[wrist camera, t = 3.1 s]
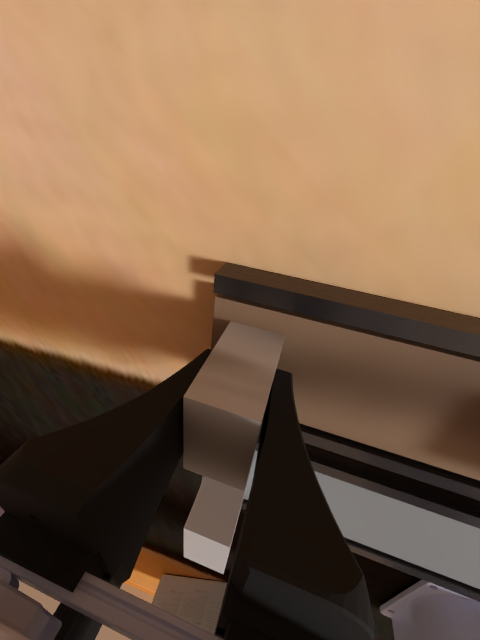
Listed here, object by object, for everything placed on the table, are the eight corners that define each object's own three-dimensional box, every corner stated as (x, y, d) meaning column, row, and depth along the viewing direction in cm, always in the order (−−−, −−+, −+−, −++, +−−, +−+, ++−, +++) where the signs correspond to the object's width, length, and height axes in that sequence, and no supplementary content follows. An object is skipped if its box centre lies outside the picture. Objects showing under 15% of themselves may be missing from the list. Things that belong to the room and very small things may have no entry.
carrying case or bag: (122, 488, 28) (-39, 743, 16) (149, 500, 27) (4, 772, 15) (125, 526, 34) (10, 733, 22) (147, 537, 33) (41, 752, 21)
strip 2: (577, 607, 16) (671, 781, 12) (207, 469, 21) (171, 557, 16) (676, 576, 13) (861, 801, 8) (211, 419, 17) (168, 512, 13)
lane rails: (561, 607, 17) (577, 640, 16) (207, 474, 21) (200, 492, 20) (1056, 446, 7) (1189, 499, 6) (226, 262, 12) (214, 274, 11)
